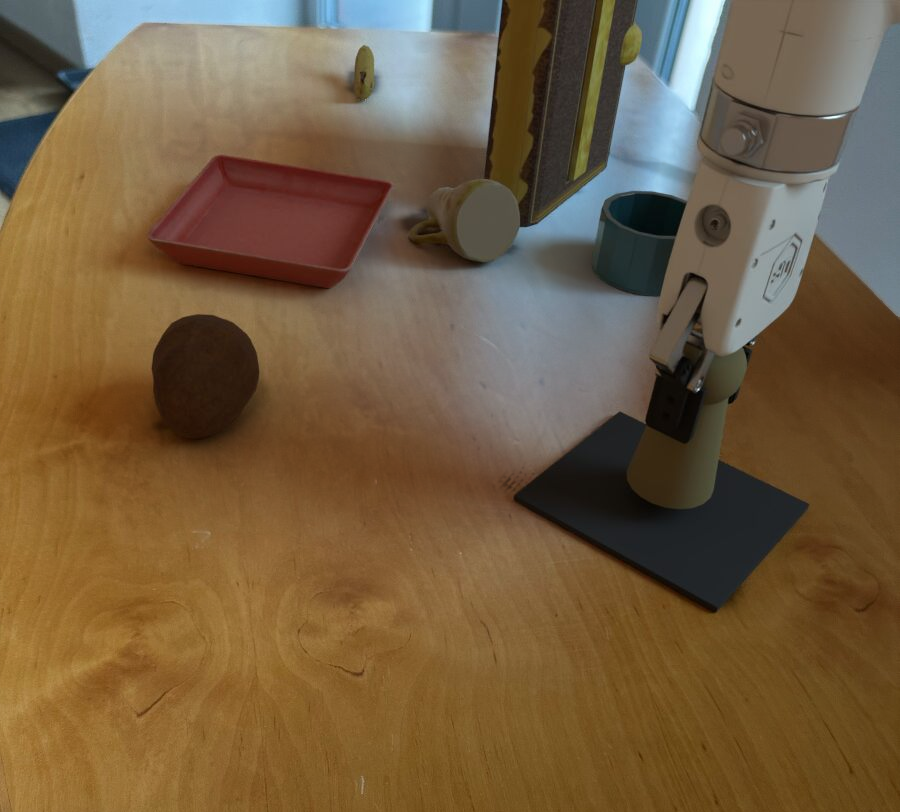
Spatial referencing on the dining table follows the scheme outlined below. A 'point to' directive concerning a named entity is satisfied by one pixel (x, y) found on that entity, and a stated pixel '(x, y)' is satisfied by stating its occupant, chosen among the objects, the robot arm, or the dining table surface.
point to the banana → (364, 73)
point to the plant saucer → (271, 220)
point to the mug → (472, 219)
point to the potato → (203, 374)
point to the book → (556, 96)
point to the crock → (637, 240)
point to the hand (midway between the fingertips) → (691, 410)
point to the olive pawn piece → (695, 463)
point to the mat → (663, 516)
